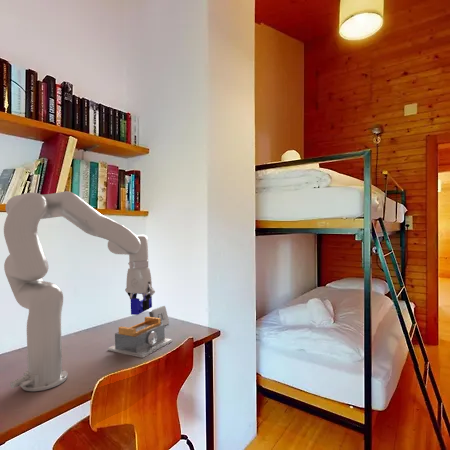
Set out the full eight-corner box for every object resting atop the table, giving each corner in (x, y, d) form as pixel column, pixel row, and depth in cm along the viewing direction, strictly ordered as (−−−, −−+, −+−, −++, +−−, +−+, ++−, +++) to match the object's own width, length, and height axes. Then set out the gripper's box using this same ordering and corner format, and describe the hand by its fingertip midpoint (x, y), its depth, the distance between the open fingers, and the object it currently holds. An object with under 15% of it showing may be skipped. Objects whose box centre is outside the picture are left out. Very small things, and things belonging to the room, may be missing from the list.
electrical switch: (157, 329, 149) (155, 309, 150) (149, 329, 151) (147, 309, 152) (169, 324, 157) (167, 305, 158) (161, 323, 160) (160, 305, 160)
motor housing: (142, 357, 116) (142, 332, 116) (107, 350, 124) (107, 326, 125) (172, 341, 132) (171, 319, 132) (139, 336, 140) (138, 314, 141)
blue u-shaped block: (142, 306, 135) (142, 292, 135) (152, 307, 134) (151, 293, 134) (127, 314, 123) (127, 299, 123) (137, 314, 122) (137, 299, 122)
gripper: (116, 265, 129) (118, 309, 129) (149, 266, 121) (150, 313, 121) (129, 263, 136) (131, 305, 136) (161, 264, 128) (162, 308, 128)
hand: (140, 308), depth 129 cm, fingers closed on blue u-shaped block, 5 cm apart
